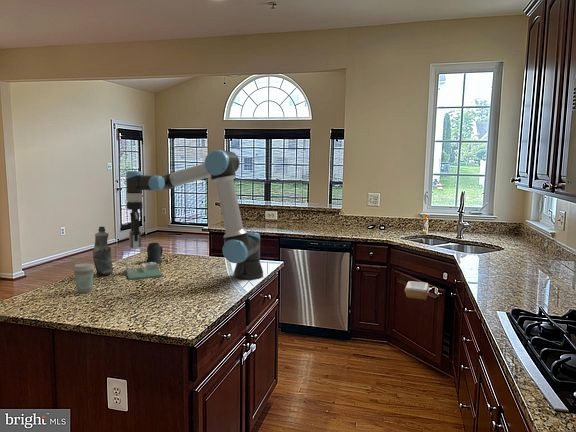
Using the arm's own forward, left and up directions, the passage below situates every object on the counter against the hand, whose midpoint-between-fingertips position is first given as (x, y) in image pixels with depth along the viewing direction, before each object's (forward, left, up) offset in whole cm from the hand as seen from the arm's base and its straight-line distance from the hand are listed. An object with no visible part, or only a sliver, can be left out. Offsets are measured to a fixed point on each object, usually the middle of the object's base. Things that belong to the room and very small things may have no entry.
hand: (135, 246), depth 218 cm
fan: (+4, -8, -13) cm, 16 cm away
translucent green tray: (-3, -3, -14) cm, 15 cm away
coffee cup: (-25, +25, -14) cm, 38 cm away
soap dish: (-92, -106, -15) cm, 141 cm away
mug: (+23, -14, -14) cm, 30 cm away
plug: (0, 0, 0) cm, 0 cm away
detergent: (+2, +15, -14) cm, 21 cm away
